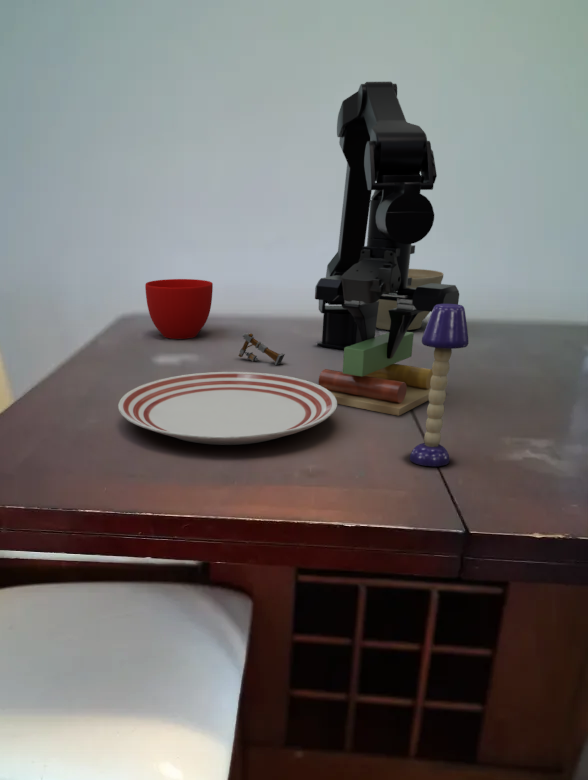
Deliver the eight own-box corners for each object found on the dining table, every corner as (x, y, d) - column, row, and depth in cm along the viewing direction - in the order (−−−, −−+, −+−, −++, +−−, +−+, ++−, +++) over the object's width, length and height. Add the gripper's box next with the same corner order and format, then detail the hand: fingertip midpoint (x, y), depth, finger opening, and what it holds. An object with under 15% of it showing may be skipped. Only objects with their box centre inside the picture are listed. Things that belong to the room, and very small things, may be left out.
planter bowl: (376, 317, 164) (380, 266, 159) (448, 325, 155) (455, 271, 151) (343, 329, 152) (347, 273, 147) (419, 338, 143) (426, 279, 139)
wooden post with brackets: (237, 352, 128) (247, 328, 126) (274, 375, 126) (285, 352, 124) (232, 354, 127) (242, 330, 124) (269, 378, 125) (280, 354, 122)
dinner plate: (273, 476, 78) (274, 446, 76) (74, 433, 91) (71, 407, 90) (368, 411, 99) (370, 387, 97) (195, 384, 112) (195, 362, 111)
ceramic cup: (235, 330, 151) (235, 279, 147) (189, 345, 138) (188, 289, 134) (182, 324, 158) (181, 275, 154) (133, 337, 145) (131, 284, 141)
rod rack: (307, 398, 105) (308, 371, 104) (355, 378, 115) (357, 354, 113) (398, 415, 97) (401, 387, 95) (442, 393, 107) (445, 367, 105)
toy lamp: (402, 453, 84) (419, 301, 77) (442, 451, 84) (462, 301, 78) (417, 468, 80) (435, 309, 73) (459, 466, 80) (481, 308, 73)
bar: (342, 373, 100) (344, 347, 98) (392, 354, 110) (394, 330, 109) (362, 376, 98) (364, 350, 97) (411, 356, 109) (414, 332, 107)
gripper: (295, 238, 97) (291, 357, 103) (431, 246, 86) (416, 378, 93) (338, 233, 105) (331, 344, 111) (468, 239, 94) (452, 361, 101)
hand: (378, 356), depth 104 cm, fingers closed on bar, 3 cm apart
